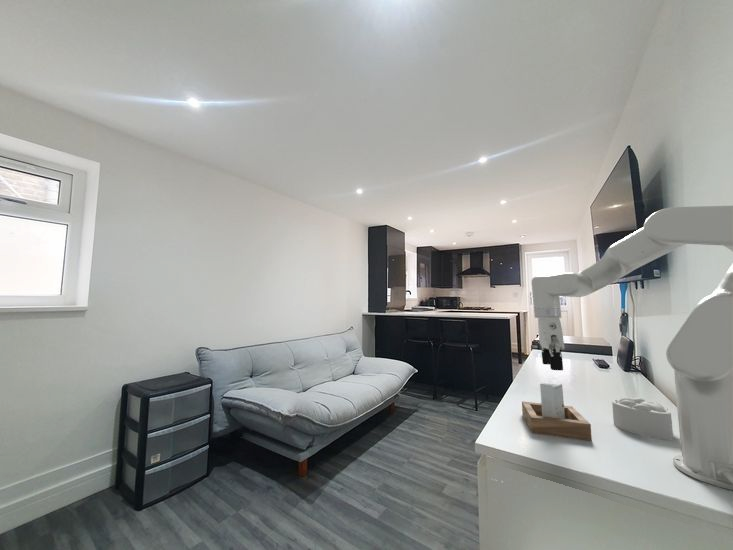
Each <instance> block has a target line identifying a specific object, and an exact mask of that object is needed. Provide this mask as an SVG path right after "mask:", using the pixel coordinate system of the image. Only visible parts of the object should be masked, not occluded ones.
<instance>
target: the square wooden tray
mask: <svg viewBox="0 0 733 550" xmlns="http://www.w3.org/2000/svg"><path fill="white" fill-rule="evenodd" d="M521 408H522V410H521V411H522V417H523V416H524V417H523V418H524V420H525V422H526V424H527V425H528V428H529V431H530V432H531V434H536V433H537V435H538V434H539V435H545V436H551V435H552V436H553V437H561V438H568V439H574V438H575V439H577V440H582V441H583V440H584V441H592V440H593V438H592V437H593V436H592V424H591V423H590V422H589V421H588V419H586V418H585V417H584V416H583V415H582V414H580V412H579V411H577V410H576V409H575V408H574V407H573V406H572V405H571V406H570V405H564V412H565V419H561V418H553V417H544V416H542V405H541V402H531V401H521Z"/></svg>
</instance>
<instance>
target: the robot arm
mask: <svg viewBox="0 0 733 550" xmlns="http://www.w3.org/2000/svg"><path fill="white" fill-rule="evenodd" d="M684 245H703V246H704V245H705V246H723V247H725V248H726V249H728V250H730V251H731V252H732V253H733V205H707V206H706V205H705V206H702V205H701V206H677V207H676V206H675V207H674V206H673V207H666V208H662V209H659V210H657V211H655V212H653V213H652V214H650V215H649V216H648V217H647V218H646V219H645V221H644V223H643V227H640V228H639V229H637V230H636V231H634V232H633V233H630V234H629V235H627V236H625V237H624V238H622V239H620V240H618V241H617V242H615V243H613V244H611V245H610V246H609V247H608V248H607V249H606V250H605V253H603V256H601V258H600V259H598V260H597V261H596V262H595V263H593V264H592V265H590V266H588V267H587V268H585V269H583V270H581V271H579V272H578V273H577V272H572V271H569V272H560V273H556V274H553V275H547V274H546V275H537V276H534V277H532V279H531V290H532V291H531V292H532V293H531V294H532V304H533V313H534V314H533V315H534V318H535V319H536V318H537V320H538V321H537V327H538V339H539V344H540V346H541V360H542V364H543V365H550V366H549V367H550V370H551V371H564V365H563V355H562V354H563V353H562V350H564V349H565V342H564V341H565V340H564V334H563V328H562V323H561V318H562V310H561V309H562V307H561V299H560V297H568V298H571V297H572V298H582V297H586V296H589V295H591V294H593V293H595V292H598V291H599V290H601V289H603V288H605V287H607V286H610V285H612V284H613V283H614V282H616V281H617V280H619V279H621V278H623V277H625V276H627V275H628V274H630V273H632V272H633V271H636V270H637V269H638V268H640V267H643V266H644V265H647V264H648V263H650V262H652V261H654V260H656V259H659V258H661V257H662V256H664V255H666V254H669V253H670V252H671V253H672V252H673V251H674V250H676V249H679V248H681V247H683V246H684ZM665 355H666V361H667V362H668V364H669V366H670V367H671V368H672V369H673V371H674V388H675V389H674V390H675V397H676V400H675V401H676V408H677V409H676V410H677V420H678V421H677V422H678V430H679V441H680V448H681V449H680V450H681V454H680V455H675V456H674V457H673V458H672V463H673V465H674V466H675V467H676V468H677V469H678V470H679V471H681V472H682V473H684V474H686V475H688V476H689V477H692V478H693V479H696V480H698V481H701V482H703V483H706V484H708V485H709V484H710V485H712V486H716V487H719V488H723V489H725V490H726V489H727V490H731V491H733V263H732V264H731V265H730V267H729V268H728V270H727V271H726V272H725V273H724V276H723V278H722V279H721V281H720V282H719V284H717V286H716V287H715V289H714V290H713V291H712V292H711V294H709V295H707V296H705V297H703V298H702V299H700V301H699V302H698V303H697V304H696V305H695V307H694V308H693V309H692V310H691V312H690V314H688V317H686V319H685V321H684V323H683V324H682V325H681V327H680V328H679V330H678V331H677V333H676V334H675V336H674V337H673V338H672V340H671V341H670V342H669V344H668V346H667V347H666V352H665Z"/></svg>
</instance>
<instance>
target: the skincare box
mask: <svg viewBox="0 0 733 550" xmlns="http://www.w3.org/2000/svg"><path fill="white" fill-rule="evenodd" d="M539 386H540V388H539V389H540V399H541V400H540V401H541V402H540V403H541V405H542V416H544V417H553V418H561V419H565V412H564V406H565V403H564V392H563V391H564V388H563V384H562V383H559V382H554V381H545V382H542V383H540V385H539Z"/></svg>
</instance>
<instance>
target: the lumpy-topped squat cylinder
mask: <svg viewBox="0 0 733 550" xmlns="http://www.w3.org/2000/svg"><path fill="white" fill-rule="evenodd" d="M611 404H612V419H613V425H614V426H615V427H617V428H618V429H621V430H623V431H626V432H629V433H633V434H635V435H640V436H645V437H648V438H655V439H660V440H666V441H669V440H670V441H672V440H674V431H673V421H672V420H673V419H672V413H671V412H670V411H669V409H668V408H667V407H666V406H663V405H662V404H661V403H658V402H655V401H646V400H645V399H643V398H641V397H633V398H630V397H621V398H620V399H613V400H612V401H611Z"/></svg>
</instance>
